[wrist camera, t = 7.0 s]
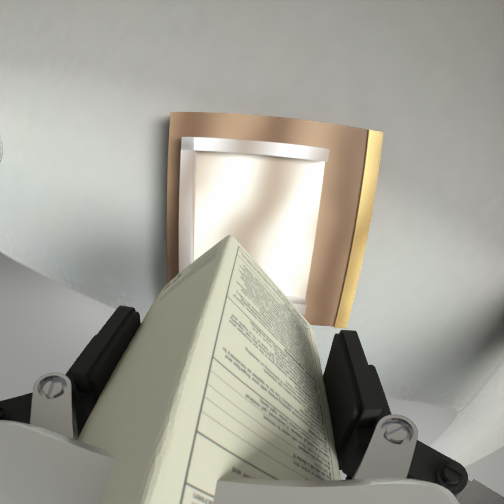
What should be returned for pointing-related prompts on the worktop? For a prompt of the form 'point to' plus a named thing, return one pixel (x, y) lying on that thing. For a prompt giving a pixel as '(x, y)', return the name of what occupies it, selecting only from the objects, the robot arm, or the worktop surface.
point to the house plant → (1, 149)
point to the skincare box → (214, 389)
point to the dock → (275, 201)
